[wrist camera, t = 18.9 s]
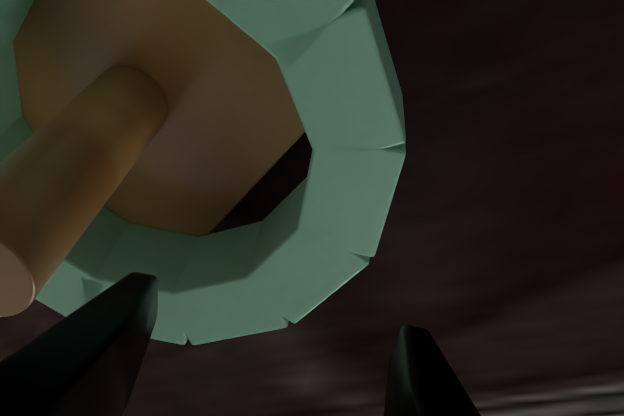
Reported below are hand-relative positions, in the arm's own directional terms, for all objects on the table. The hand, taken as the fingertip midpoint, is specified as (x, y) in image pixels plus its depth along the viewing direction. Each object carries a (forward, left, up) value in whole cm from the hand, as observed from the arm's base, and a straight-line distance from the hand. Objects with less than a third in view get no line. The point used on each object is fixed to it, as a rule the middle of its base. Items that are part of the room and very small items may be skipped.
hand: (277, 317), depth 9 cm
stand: (-3, +4, -8) cm, 9 cm away
